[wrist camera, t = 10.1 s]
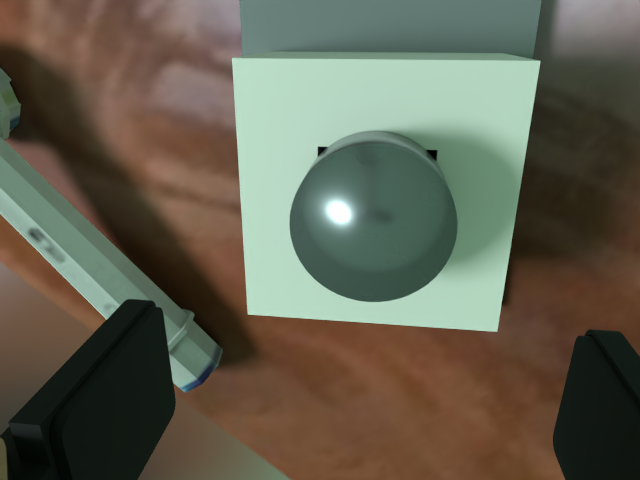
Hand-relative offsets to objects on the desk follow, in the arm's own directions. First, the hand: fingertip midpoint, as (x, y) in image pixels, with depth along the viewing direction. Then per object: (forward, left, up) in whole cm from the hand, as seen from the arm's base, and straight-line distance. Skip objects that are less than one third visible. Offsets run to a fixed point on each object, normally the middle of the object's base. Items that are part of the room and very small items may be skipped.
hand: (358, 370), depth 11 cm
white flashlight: (+5, -19, -20) cm, 28 cm away
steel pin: (0, 0, -18) cm, 18 cm away
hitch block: (0, 0, -20) cm, 20 cm away
